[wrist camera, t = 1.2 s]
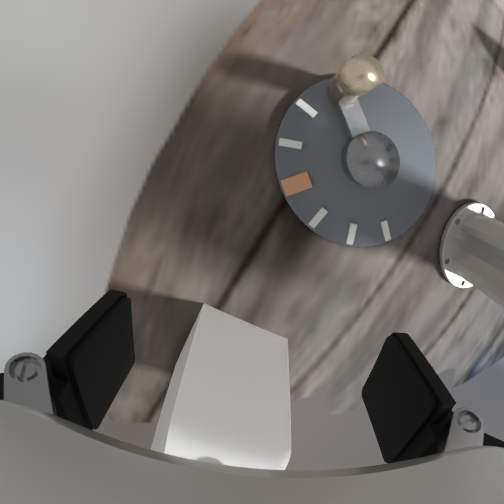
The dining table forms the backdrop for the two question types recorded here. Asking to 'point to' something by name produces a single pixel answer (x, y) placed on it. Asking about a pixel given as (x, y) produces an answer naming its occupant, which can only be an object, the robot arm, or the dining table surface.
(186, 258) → the dining table surface
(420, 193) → the dial board
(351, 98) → the lever
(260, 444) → the milk
